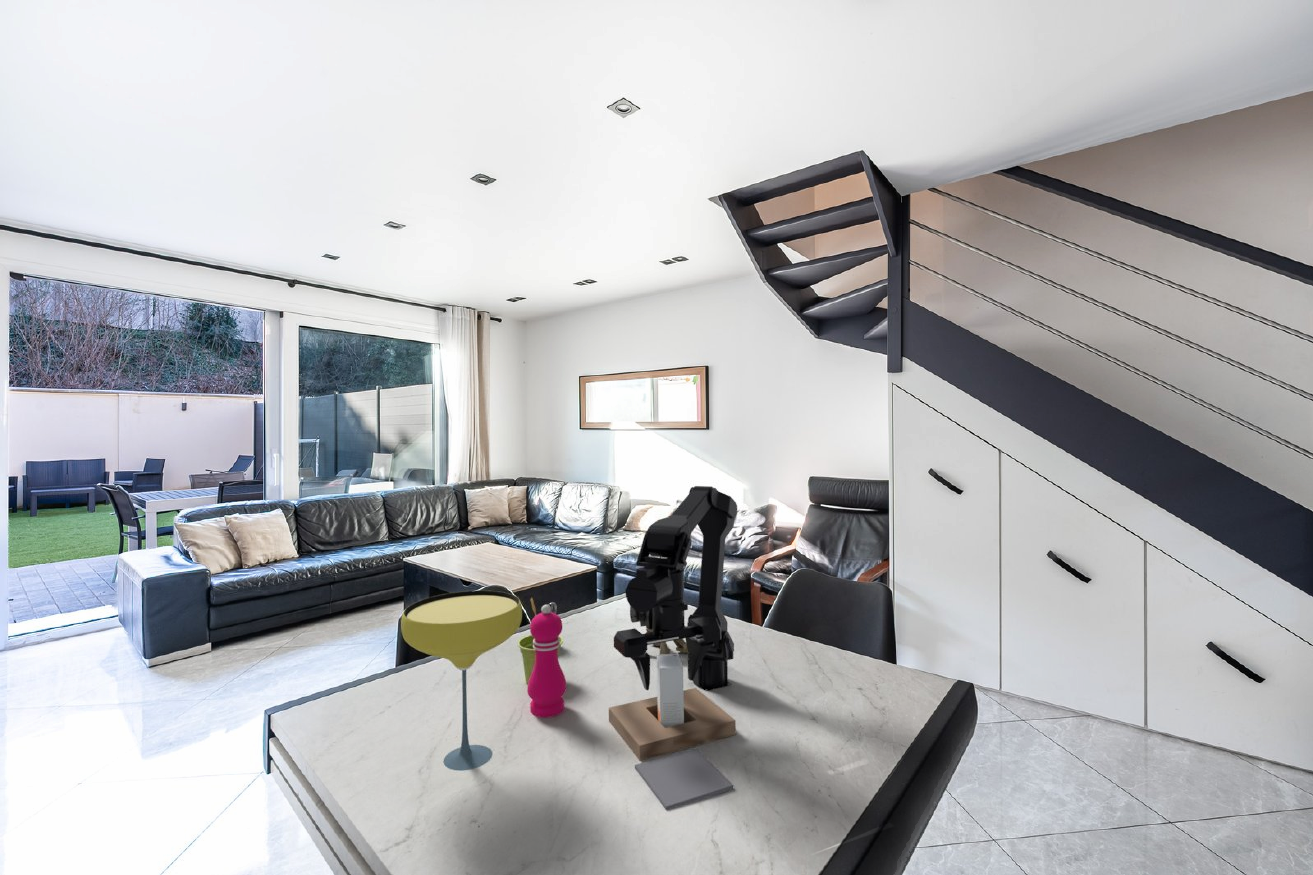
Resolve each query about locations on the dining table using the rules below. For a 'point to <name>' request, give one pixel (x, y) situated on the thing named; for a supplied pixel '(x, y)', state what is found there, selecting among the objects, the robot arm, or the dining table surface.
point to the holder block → (656, 740)
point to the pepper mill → (546, 666)
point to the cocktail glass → (462, 644)
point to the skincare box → (670, 690)
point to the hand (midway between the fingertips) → (668, 684)
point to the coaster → (683, 778)
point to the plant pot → (530, 654)
